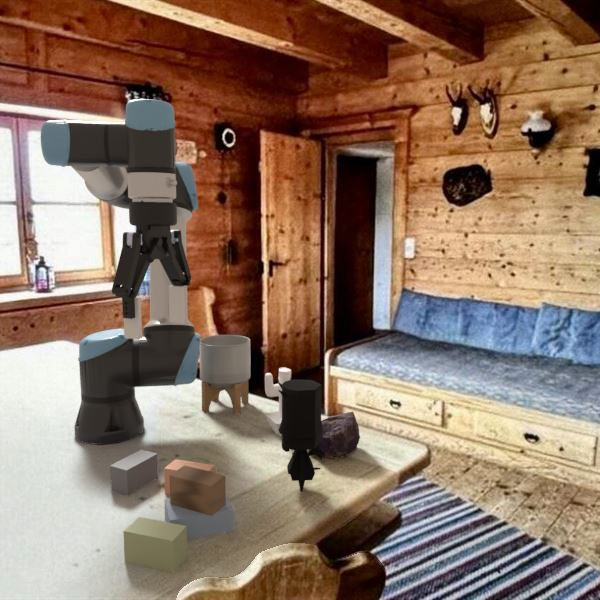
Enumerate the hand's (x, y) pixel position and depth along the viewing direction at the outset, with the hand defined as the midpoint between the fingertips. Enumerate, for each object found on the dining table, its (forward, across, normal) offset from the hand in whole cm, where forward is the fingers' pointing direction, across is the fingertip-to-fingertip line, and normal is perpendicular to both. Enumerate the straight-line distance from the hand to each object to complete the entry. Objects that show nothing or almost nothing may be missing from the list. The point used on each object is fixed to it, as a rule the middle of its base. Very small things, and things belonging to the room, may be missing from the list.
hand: (156, 330), depth 95 cm
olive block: (+31, -15, -8) cm, 35 cm away
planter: (+31, +48, +10) cm, 58 cm away
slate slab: (+31, -5, -10) cm, 33 cm away
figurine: (+31, +37, -10) cm, 49 cm away
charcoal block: (+31, +4, +8) cm, 32 cm away
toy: (+31, +12, -22) cm, 40 cm away
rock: (+31, +29, -25) cm, 49 cm away
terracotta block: (+31, +4, -3) cm, 31 cm away
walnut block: (+27, -5, -10) cm, 29 cm away
